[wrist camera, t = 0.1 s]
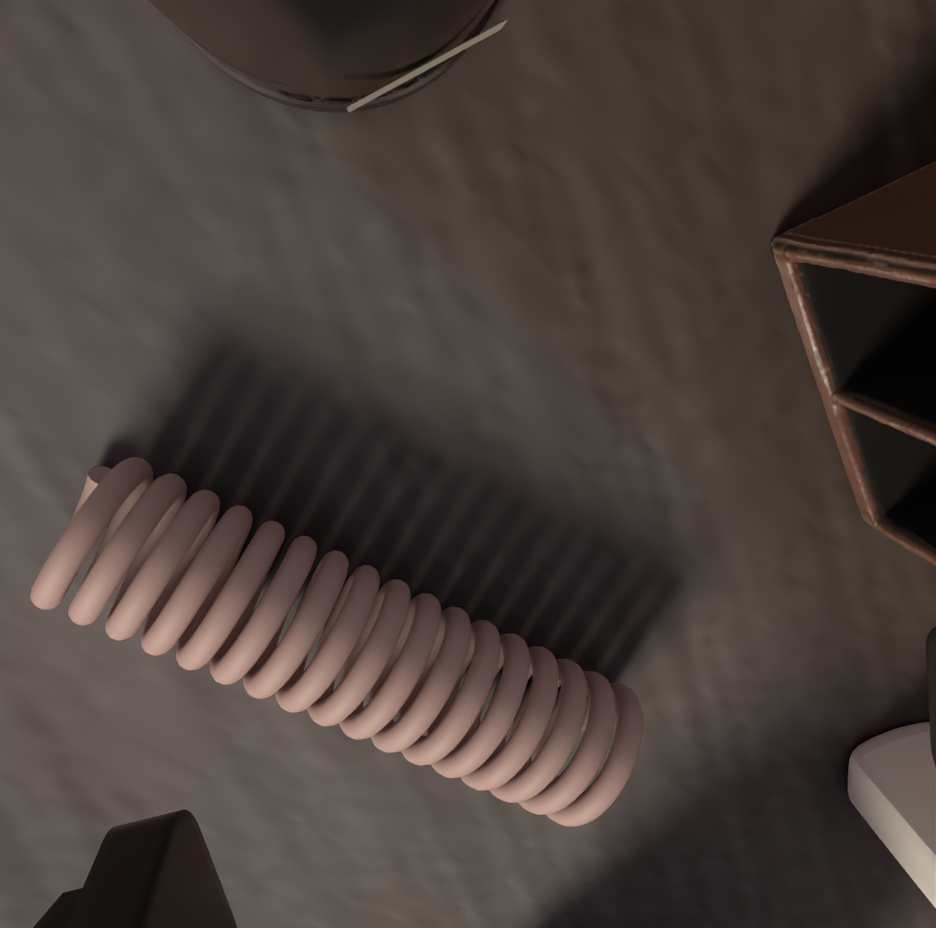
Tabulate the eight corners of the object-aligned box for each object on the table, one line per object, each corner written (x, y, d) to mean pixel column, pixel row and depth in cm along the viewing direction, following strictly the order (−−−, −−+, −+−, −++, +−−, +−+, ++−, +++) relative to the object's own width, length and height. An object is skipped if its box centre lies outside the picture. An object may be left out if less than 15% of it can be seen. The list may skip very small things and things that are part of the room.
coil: (677, 737, 24) (66, 456, 20) (597, 871, 25) (-16, 623, 21) (623, 666, 29) (115, 425, 25) (556, 780, 29) (47, 562, 25)
